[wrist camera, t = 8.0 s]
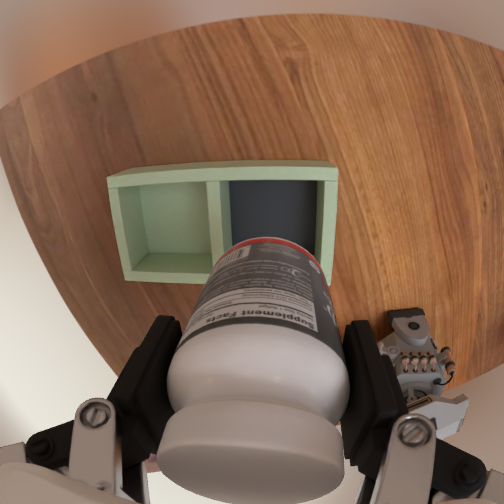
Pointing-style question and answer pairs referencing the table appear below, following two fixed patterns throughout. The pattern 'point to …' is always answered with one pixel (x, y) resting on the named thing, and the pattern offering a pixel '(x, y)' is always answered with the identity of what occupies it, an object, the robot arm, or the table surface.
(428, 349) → the figurine
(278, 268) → the pill bottle
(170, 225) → the holder
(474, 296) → the table surface
